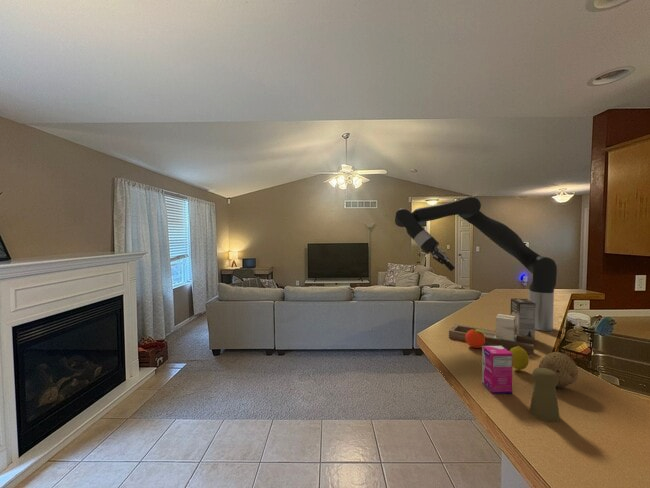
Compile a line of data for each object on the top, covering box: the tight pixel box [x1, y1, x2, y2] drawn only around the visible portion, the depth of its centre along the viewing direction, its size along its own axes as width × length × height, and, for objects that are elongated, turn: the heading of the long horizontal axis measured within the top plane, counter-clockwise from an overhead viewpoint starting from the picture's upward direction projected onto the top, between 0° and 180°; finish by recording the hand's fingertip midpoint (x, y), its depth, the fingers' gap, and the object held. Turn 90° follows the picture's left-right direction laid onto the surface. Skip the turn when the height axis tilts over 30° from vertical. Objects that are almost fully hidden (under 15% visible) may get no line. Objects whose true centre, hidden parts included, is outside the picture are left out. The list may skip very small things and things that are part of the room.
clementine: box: [465, 329, 488, 349], centre depth 117 cm, size 8×7×7 cm
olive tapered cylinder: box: [528, 367, 561, 423], centre depth 74 cm, size 6×6×11 cm
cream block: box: [495, 313, 515, 340], centre depth 121 cm, size 6×6×8 cm
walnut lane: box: [448, 324, 536, 355], centre depth 124 cm, size 11×30×3 cm, turn 54°
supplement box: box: [481, 345, 513, 395], centre depth 86 cm, size 6×6×12 cm
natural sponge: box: [538, 351, 579, 389], centre depth 87 cm, size 9×9×10 cm
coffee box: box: [509, 297, 536, 337], centre depth 127 cm, size 9×6×16 cm
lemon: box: [508, 346, 530, 372], centre depth 97 cm, size 6×6×8 cm
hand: (453, 269), depth 136 cm, fingers closed
